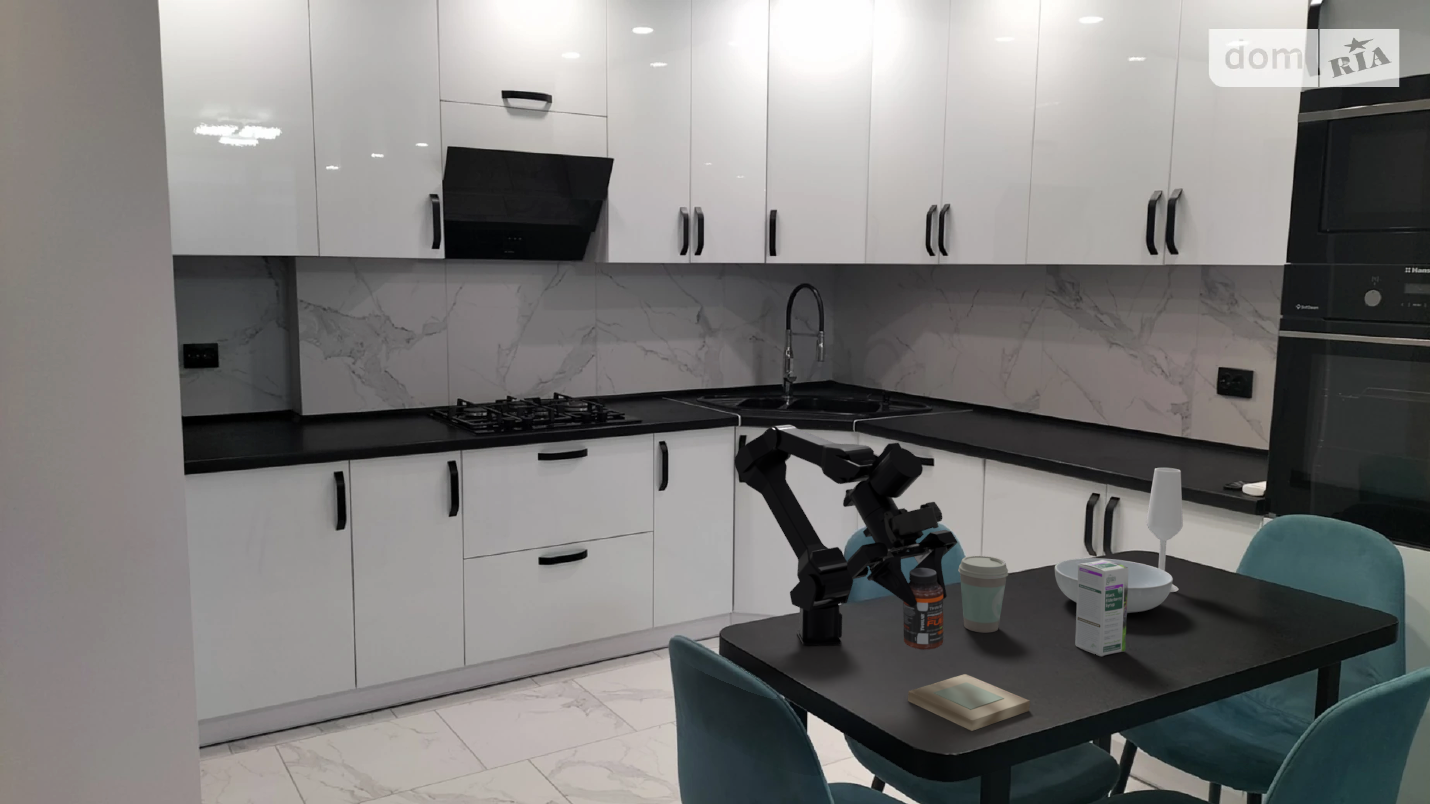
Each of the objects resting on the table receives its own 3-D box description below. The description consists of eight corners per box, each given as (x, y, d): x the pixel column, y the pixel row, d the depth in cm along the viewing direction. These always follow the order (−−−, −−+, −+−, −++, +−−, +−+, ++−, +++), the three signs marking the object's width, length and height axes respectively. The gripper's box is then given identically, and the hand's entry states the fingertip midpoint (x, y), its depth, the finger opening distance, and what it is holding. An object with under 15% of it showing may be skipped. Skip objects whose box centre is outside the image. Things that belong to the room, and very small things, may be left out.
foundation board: (971, 730, 140) (972, 719, 139) (908, 701, 149) (908, 690, 149) (1029, 710, 146) (1029, 700, 146) (964, 683, 156) (965, 673, 156)
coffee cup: (997, 638, 176) (1000, 570, 175) (949, 629, 180) (951, 563, 179) (1012, 625, 183) (1014, 559, 182) (965, 616, 188) (967, 552, 186)
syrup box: (1101, 657, 168) (1105, 570, 166) (1073, 646, 173) (1077, 562, 171) (1125, 651, 170) (1130, 566, 169) (1097, 640, 176) (1102, 558, 174)
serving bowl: (1178, 602, 198) (1181, 567, 197) (1160, 632, 180) (1162, 594, 180) (1068, 584, 209) (1069, 551, 208) (1040, 611, 191) (1041, 575, 191)
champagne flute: (1155, 580, 212) (1162, 465, 209) (1185, 588, 206) (1193, 471, 203) (1135, 585, 208) (1142, 468, 205) (1165, 594, 202) (1172, 474, 200)
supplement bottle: (932, 654, 151) (931, 581, 149) (896, 646, 155) (895, 574, 153) (950, 640, 156) (949, 569, 154) (915, 632, 159) (913, 562, 158)
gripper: (862, 492, 150) (914, 585, 142) (951, 479, 161) (1003, 565, 153) (825, 533, 157) (873, 623, 150) (912, 518, 168) (960, 601, 160)
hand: (929, 602), depth 153 cm, fingers closed on supplement bottle, 6 cm apart
